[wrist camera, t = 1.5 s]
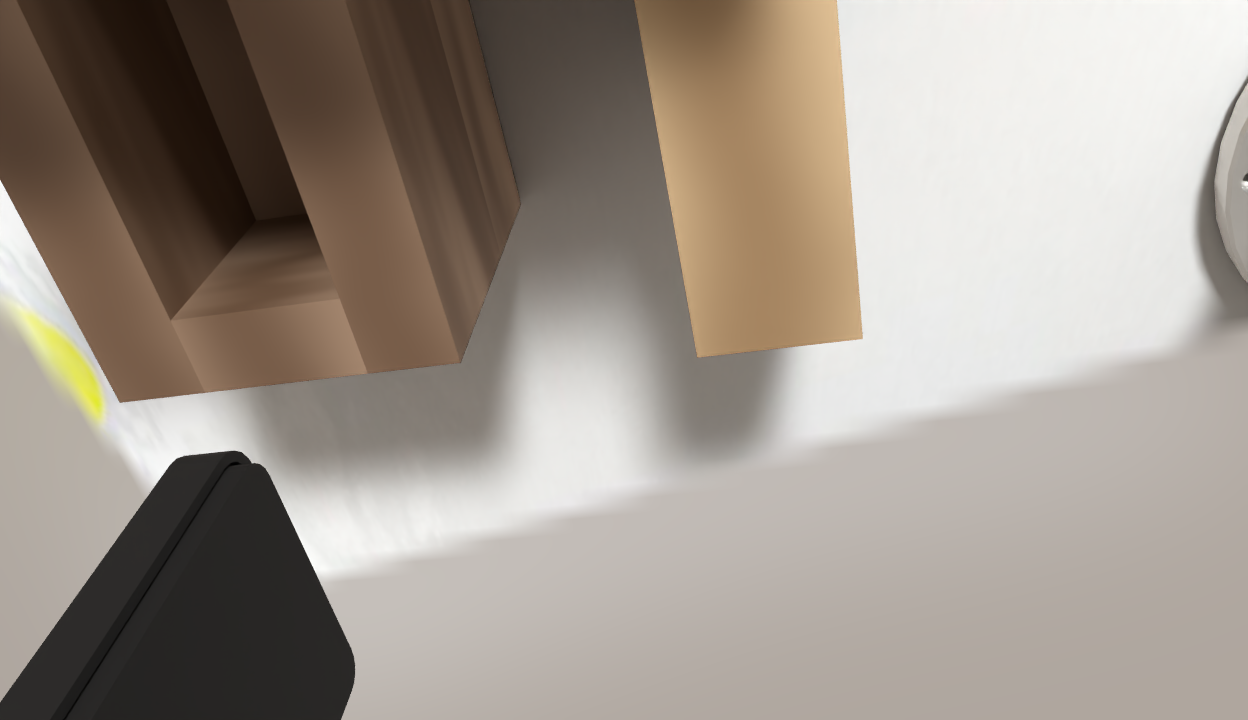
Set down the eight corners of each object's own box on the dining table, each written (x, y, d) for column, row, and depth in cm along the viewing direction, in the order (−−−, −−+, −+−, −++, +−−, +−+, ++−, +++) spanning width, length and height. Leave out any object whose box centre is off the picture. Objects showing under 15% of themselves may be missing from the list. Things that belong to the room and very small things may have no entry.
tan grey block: (782, -315, 25) (813, -309, 16) (824, 160, 31) (862, 338, 23) (632, -282, 25) (588, -261, 17) (703, 177, 32) (697, 357, 23)
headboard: (777, -476, 23) (852, -682, 10) (831, 159, 31) (915, 527, 18) (-23, -282, 26) (-784, -238, 13) (210, 248, 34) (-117, 613, 21)
